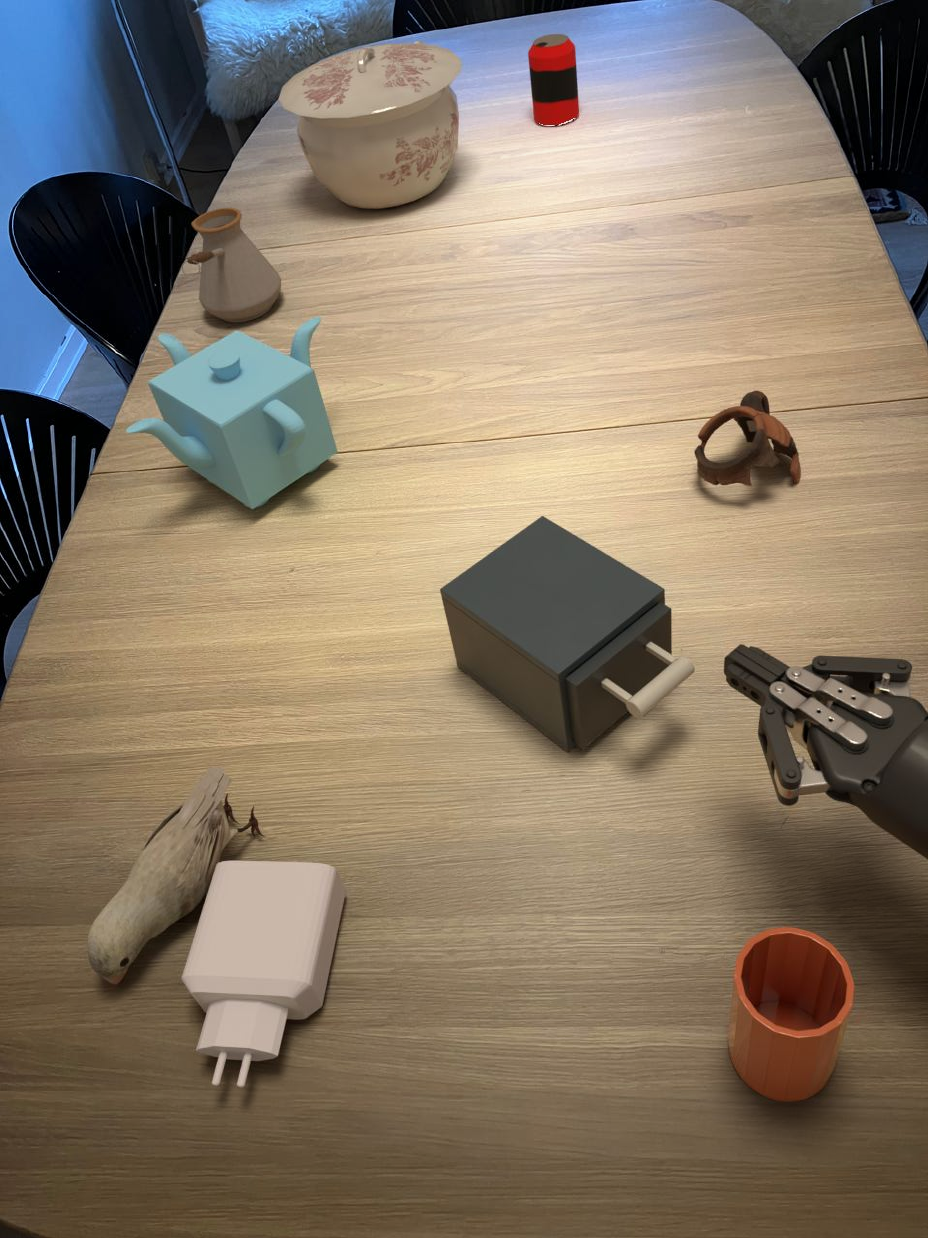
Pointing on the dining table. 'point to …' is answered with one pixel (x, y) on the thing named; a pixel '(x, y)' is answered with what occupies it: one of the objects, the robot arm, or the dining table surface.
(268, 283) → the coffee pot
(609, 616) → the cabinet
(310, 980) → the charger
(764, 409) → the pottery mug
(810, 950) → the cup
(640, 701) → the drawer
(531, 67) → the soda can
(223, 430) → the teakettle
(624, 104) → the dining table surface
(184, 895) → the decorative bird
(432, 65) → the chamber pot
